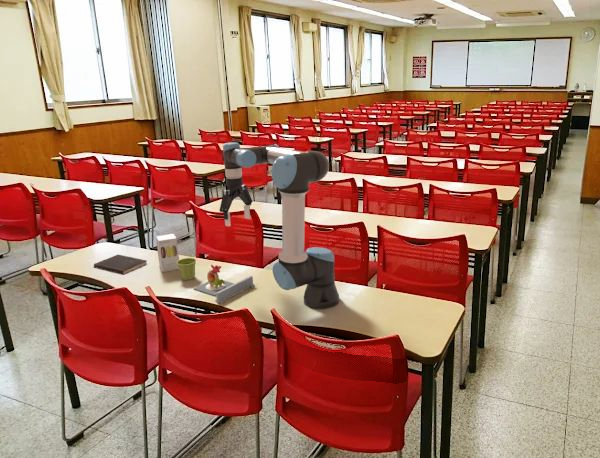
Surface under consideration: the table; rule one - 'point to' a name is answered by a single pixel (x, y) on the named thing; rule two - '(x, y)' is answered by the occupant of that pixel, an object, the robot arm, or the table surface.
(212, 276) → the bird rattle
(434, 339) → the table surface
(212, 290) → the mat
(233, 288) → the long grey bar
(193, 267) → the plant pot
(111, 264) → the hardcover book
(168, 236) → the supplement box
